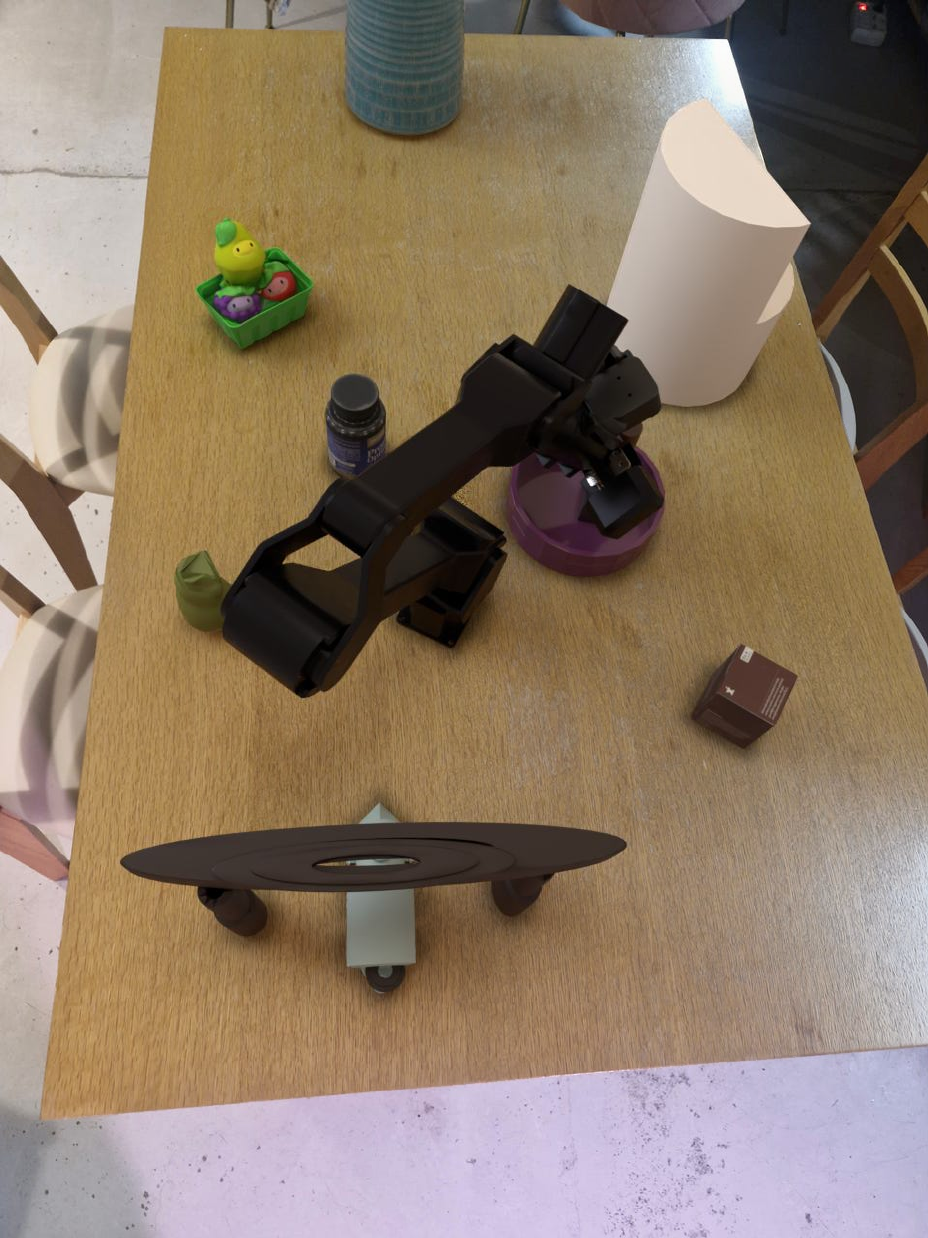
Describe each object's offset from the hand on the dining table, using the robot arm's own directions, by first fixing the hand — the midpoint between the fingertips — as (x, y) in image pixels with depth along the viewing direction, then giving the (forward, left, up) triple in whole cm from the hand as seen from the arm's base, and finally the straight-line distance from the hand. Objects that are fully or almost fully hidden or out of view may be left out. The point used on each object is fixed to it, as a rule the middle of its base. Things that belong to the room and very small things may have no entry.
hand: (625, 461), depth 86 cm
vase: (+47, +50, -7) cm, 69 cm away
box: (-17, -20, -7) cm, 27 cm away
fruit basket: (+3, +46, -7) cm, 47 cm away
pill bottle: (-9, +26, -7) cm, 29 cm away
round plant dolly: (-47, +2, -7) cm, 48 cm away
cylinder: (+25, +1, -7) cm, 26 cm away
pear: (-32, +29, -7) cm, 44 cm away
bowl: (-3, +2, -7) cm, 8 cm away
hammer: (-1, +1, -7) cm, 7 cm away
